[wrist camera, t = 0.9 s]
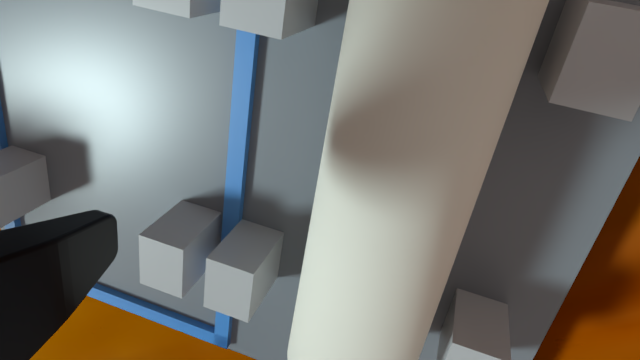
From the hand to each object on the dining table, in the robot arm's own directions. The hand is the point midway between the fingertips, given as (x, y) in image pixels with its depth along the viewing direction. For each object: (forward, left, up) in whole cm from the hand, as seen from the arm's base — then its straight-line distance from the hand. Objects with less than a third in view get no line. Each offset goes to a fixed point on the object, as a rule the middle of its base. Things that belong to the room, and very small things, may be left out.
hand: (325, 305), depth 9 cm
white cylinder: (0, 0, -5) cm, 5 cm away
